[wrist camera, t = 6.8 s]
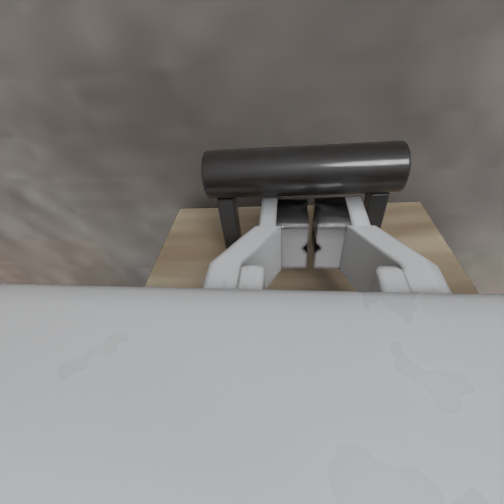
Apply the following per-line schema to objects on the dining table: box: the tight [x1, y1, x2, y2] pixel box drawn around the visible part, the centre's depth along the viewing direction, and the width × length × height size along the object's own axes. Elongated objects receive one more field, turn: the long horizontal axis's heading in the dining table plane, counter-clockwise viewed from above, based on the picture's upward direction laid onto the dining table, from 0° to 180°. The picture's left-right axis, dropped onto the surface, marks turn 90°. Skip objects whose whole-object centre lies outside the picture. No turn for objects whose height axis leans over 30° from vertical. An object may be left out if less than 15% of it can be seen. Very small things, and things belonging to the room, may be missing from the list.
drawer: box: [145, 140, 479, 294], centre depth 15 cm, size 17×12×7 cm
